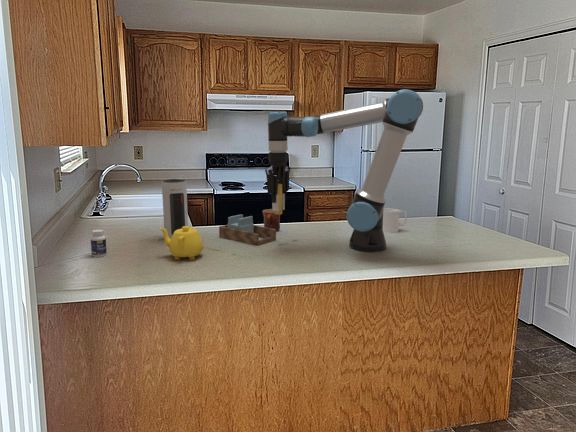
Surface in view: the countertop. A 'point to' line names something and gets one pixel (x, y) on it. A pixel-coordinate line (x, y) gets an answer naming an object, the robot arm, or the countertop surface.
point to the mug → (271, 219)
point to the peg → (279, 192)
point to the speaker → (174, 205)
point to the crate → (241, 223)
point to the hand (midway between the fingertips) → (278, 209)
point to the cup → (392, 220)
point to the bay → (248, 235)
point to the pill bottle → (98, 243)
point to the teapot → (184, 242)
